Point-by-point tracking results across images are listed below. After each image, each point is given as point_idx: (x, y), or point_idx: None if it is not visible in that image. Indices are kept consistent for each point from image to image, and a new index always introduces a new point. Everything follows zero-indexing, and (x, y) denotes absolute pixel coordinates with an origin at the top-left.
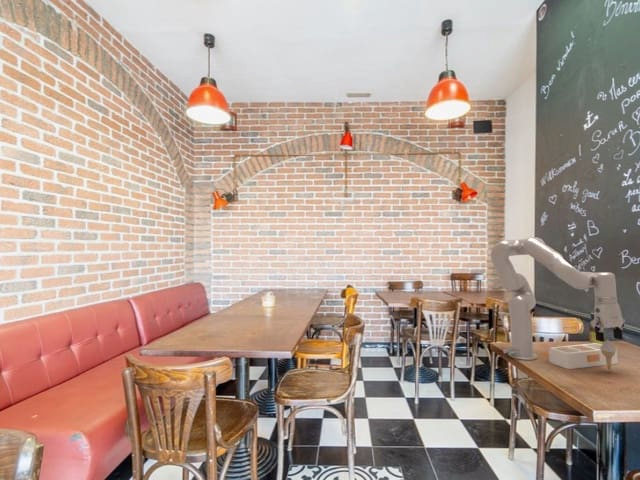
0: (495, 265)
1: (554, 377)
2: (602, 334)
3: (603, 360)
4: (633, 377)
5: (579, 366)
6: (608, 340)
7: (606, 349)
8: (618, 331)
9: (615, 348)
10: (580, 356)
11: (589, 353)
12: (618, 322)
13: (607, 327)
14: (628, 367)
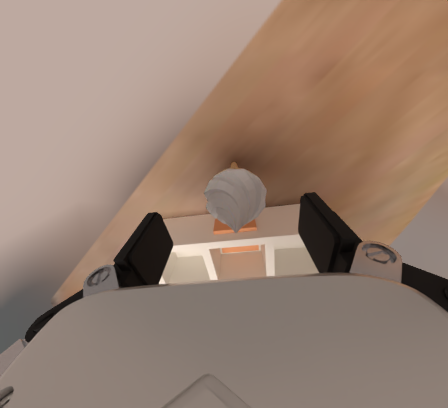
0: None
1: (442, 145)
2: (343, 225)
3: (198, 222)
4: (197, 113)
5: (282, 208)
6: (235, 219)
7: (262, 183)
8: (141, 261)
9: (214, 182)
10: (284, 226)
11: (248, 234)
12: (100, 369)
13: (360, 275)
14: (149, 193)
